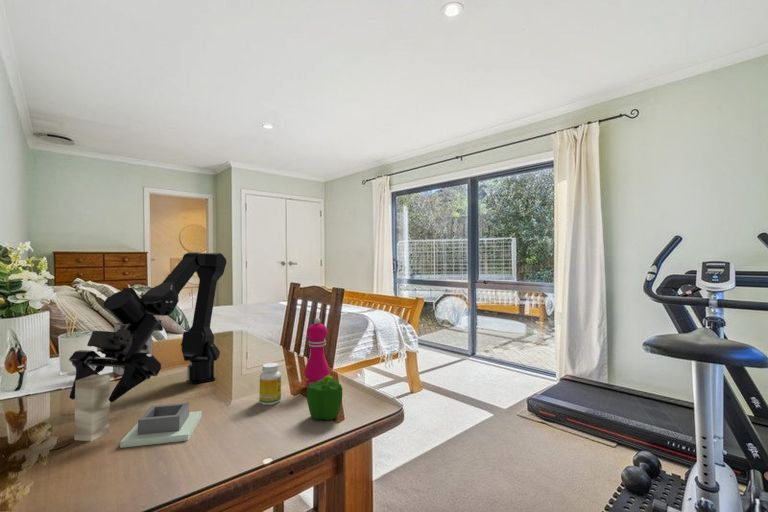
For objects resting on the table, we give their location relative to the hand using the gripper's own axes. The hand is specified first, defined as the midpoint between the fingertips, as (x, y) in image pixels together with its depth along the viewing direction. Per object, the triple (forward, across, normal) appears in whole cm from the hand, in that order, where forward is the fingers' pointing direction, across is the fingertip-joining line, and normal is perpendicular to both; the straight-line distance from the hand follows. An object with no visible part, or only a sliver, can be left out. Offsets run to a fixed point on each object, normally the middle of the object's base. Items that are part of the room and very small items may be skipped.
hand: (90, 399), depth 75 cm
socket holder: (+2, +13, +9) cm, 16 cm away
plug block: (+5, 0, +6) cm, 8 cm away
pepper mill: (-20, +37, +31) cm, 52 cm away
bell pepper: (-6, +45, +17) cm, 49 cm away
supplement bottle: (-11, +28, +22) cm, 38 cm away
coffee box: (-24, -29, +35) cm, 51 cm away
